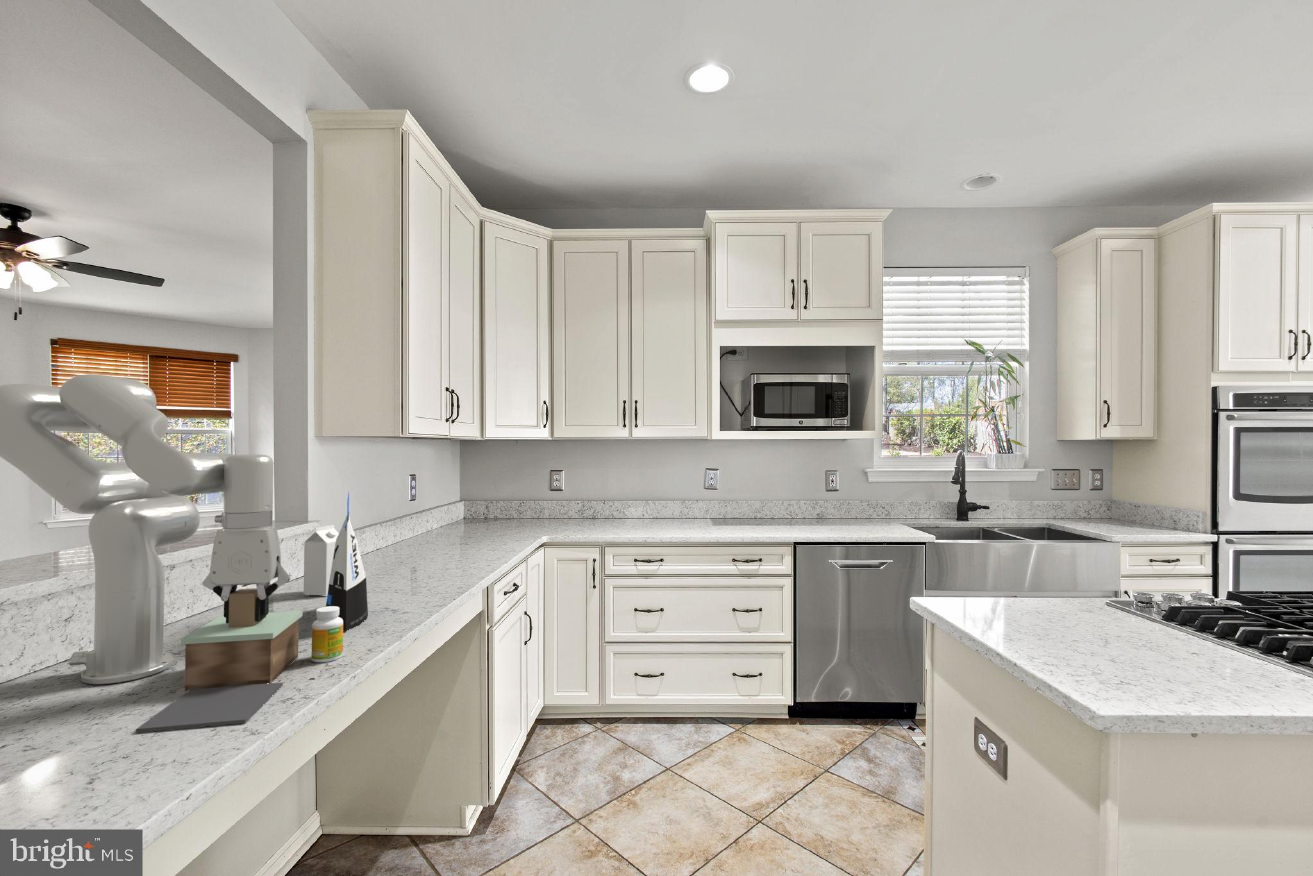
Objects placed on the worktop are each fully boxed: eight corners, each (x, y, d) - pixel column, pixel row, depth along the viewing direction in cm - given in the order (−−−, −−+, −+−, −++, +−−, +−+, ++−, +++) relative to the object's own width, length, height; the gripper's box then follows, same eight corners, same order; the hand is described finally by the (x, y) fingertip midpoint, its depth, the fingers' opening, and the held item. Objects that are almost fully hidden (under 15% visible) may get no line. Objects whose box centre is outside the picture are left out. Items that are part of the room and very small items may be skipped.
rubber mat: (136, 733, 84) (136, 729, 84) (189, 693, 98) (189, 689, 98) (245, 723, 87) (245, 719, 87) (282, 685, 101) (282, 682, 101)
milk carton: (303, 595, 161) (304, 527, 161) (321, 589, 168) (323, 524, 168) (325, 597, 160) (327, 528, 160) (343, 590, 167) (344, 525, 167)
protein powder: (367, 603, 154) (368, 490, 154) (369, 629, 132) (371, 498, 133) (326, 608, 149) (328, 491, 150) (321, 635, 128) (323, 499, 128)
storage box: (184, 690, 99) (185, 643, 99) (222, 662, 112) (223, 620, 112) (270, 683, 102) (270, 638, 102) (298, 657, 114) (298, 616, 115)
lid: (180, 644, 98) (181, 603, 98) (222, 620, 112) (222, 584, 112) (272, 638, 102) (273, 598, 102) (302, 616, 115) (302, 580, 115)
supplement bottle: (328, 664, 111) (329, 613, 111) (304, 661, 112) (305, 611, 112) (348, 654, 116) (349, 605, 117) (325, 652, 117) (326, 604, 118)
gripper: (184, 524, 102) (182, 629, 101) (290, 522, 105) (289, 623, 105) (207, 519, 109) (205, 617, 109) (305, 517, 113) (304, 612, 112)
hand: (246, 619), depth 107 cm, fingers closed on lid, 4 cm apart
